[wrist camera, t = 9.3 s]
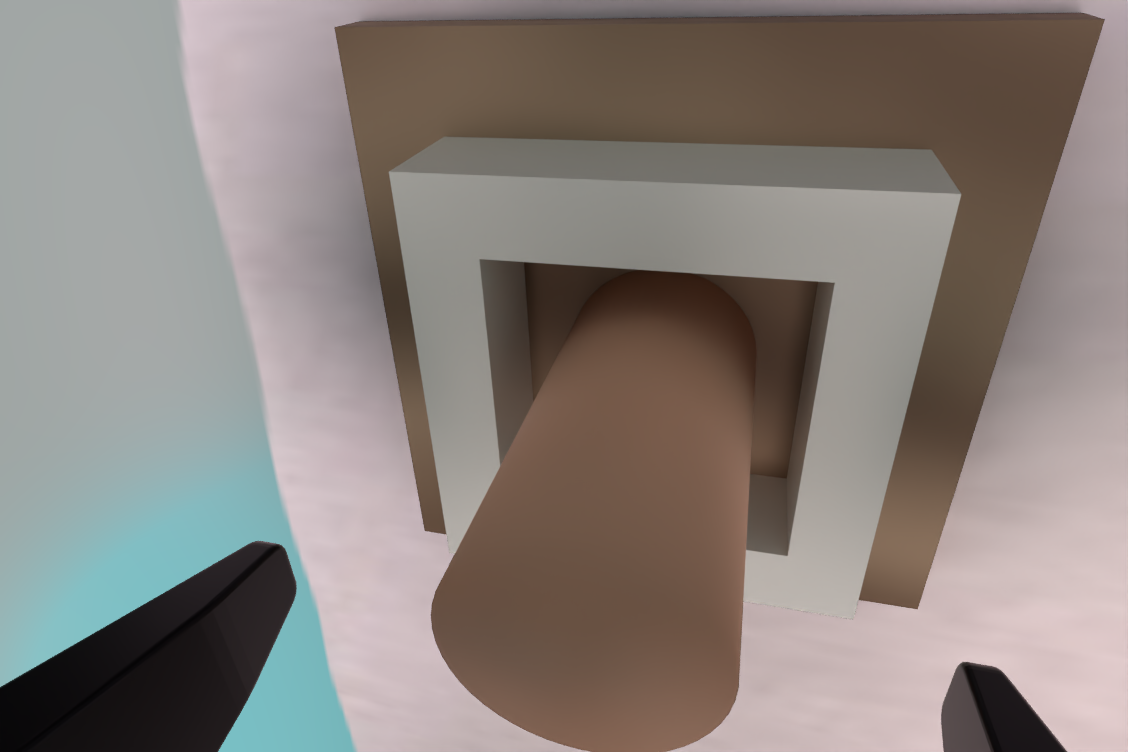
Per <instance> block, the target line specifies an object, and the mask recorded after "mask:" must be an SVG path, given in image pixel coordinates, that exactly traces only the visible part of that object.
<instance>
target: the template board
mask: <svg viewBox="0 0 1128 752" xmlns="http://www.w3.org/2000/svg"><path fill="white" fill-rule="evenodd" d="M1104 20H1105V19H1101V18H1098V17H1095V16H1091V15H1088V14H1084V13H1029V14H946V15H863V16H780V17H696V18H613V19H530V20H446V21H363V22H355V23H351V24H347V25H342V26H338V27H335V32H336V38H337V44H338V49H339V55H340V60H341V66H342V71H343V77H344V83H345V88H346V94H347V99H348V105H349V111H350V116H351V122H352V127H353V133H354V138H355V144H356V150H357V155H358V161H359V166H360V172H361V177H362V183H363V189H364V194H365V200H366V205H367V211H368V217H369V222H370V228H371V233H372V239H373V244H374V250H375V256H376V261H377V267H378V272H379V278H380V284H381V289H382V295H383V300H384V306H385V311H386V317H387V323H388V328H389V334H390V339H391V345H392V350H393V356H394V362H395V367H396V373H397V378H398V384H399V390H400V395H401V401H402V406H403V412H404V417H405V423H406V429H407V434H408V440H409V445H410V451H411V457H412V462H413V468H414V473H415V479H416V484H417V490H418V496H419V501H420V507H421V512H422V518H423V524H424V529H425V531H429V532H435V533H442V534H446V535H447V541H448V547H449V553H452V554H455V553H456V551H457V549H458V547H459V545H460V543H461V541H462V539H463V537H464V535H465V533H466V532H467V530H468V528H469V526H470V524H471V522H472V520H473V518H474V516H475V514H476V512H477V510H478V508H479V506H480V504H481V503H482V501H483V499H484V497H485V495H486V493H487V491H488V489H489V487H490V485H491V483H492V481H493V479H494V477H495V475H496V473H497V472H498V470H499V468H500V466H501V464H502V462H503V460H504V458H505V456H506V454H507V452H508V450H509V448H510V446H511V444H512V443H513V441H514V439H515V437H516V435H517V433H518V431H519V429H520V427H521V425H522V423H523V421H524V419H525V417H526V415H527V414H528V412H529V410H530V408H531V406H532V404H533V402H534V400H535V398H536V396H537V394H538V392H539V390H540V388H541V386H542V385H543V383H544V381H545V379H546V377H547V375H548V373H549V371H550V369H551V367H552V365H553V363H554V361H555V359H556V357H557V356H558V354H559V352H560V350H561V348H562V346H563V344H564V342H565V340H566V338H567V336H568V334H569V332H570V330H571V328H572V327H573V325H574V323H575V321H576V319H577V317H578V315H579V313H580V311H581V309H582V307H583V306H584V304H585V303H586V302H587V300H588V299H589V297H590V296H591V295H592V294H593V293H594V292H595V291H596V290H597V289H599V288H600V287H601V286H603V285H604V284H605V283H607V282H608V281H610V280H612V279H614V278H616V277H618V276H620V275H623V274H625V273H628V272H632V271H636V270H651V271H666V272H681V273H693V274H695V275H698V276H700V277H703V278H705V279H707V280H708V281H710V282H712V283H714V284H716V285H717V286H718V287H720V288H721V289H723V290H724V291H725V292H726V293H727V294H728V295H730V296H731V297H732V298H733V299H734V300H735V302H736V303H737V304H738V305H739V306H740V308H741V309H742V310H743V312H744V314H745V315H746V317H747V318H748V321H749V323H750V325H751V327H752V330H753V334H754V337H755V342H756V351H757V352H756V373H755V392H754V410H753V429H752V447H751V466H750V484H749V503H748V521H747V540H746V559H745V577H744V596H743V602H749V603H755V604H761V605H767V606H773V607H779V608H786V609H792V610H798V611H804V612H810V613H816V614H822V615H828V616H834V617H840V618H846V619H852V620H853V619H854V615H855V612H856V608H857V604H858V600H863V601H869V602H876V603H882V604H888V605H894V606H901V607H907V608H913V609H918V606H919V603H920V600H921V597H922V594H923V590H924V587H925V584H926V581H927V578H928V575H929V572H930V568H931V565H932V562H933V559H934V556H935V553H936V549H937V546H938V543H939V540H940V537H941V534H942V531H943V527H944V524H945V521H946V518H947V515H948V512H949V508H950V505H951V502H952V499H953V496H954V493H955V490H956V486H957V483H958V480H959V477H960V474H961V471H962V468H963V464H964V461H965V458H966V455H967V452H968V449H969V445H970V442H971V439H972V436H973V433H974V430H975V427H976V423H977V420H978V417H979V414H980V411H981V408H982V405H983V401H984V398H985V395H986V392H987V389H988V386H989V382H990V379H991V376H992V373H993V370H994V367H995V364H996V360H997V357H998V354H999V351H1000V348H1001V345H1002V342H1003V338H1004V335H1005V332H1006V329H1007V326H1008V323H1009V319H1010V316H1011V313H1012V310H1013V307H1014V304H1015V301H1016V297H1017V294H1018V291H1019V288H1020V285H1021V282H1022V278H1023V275H1024V272H1025V269H1026V266H1027V263H1028V260H1029V256H1030V253H1031V250H1032V247H1033V244H1034V241H1035V238H1036V234H1037V231H1038V228H1039V225H1040V222H1041V219H1042V215H1043V212H1044V209H1045V206H1046V203H1047V200H1048V197H1049V193H1050V190H1051V187H1052V184H1053V181H1054V178H1055V175H1056V171H1057V168H1058V165H1059V162H1060V159H1061V156H1062V152H1063V149H1064V146H1065V143H1066V140H1067V137H1068V134H1069V130H1070V127H1071V124H1072V121H1073V118H1074V115H1075V112H1076V108H1077V105H1078V102H1079V99H1080V96H1081V93H1082V89H1083V86H1084V83H1085V80H1086V77H1087V74H1088V71H1089V67H1090V64H1091V61H1092V58H1093V55H1094V52H1095V48H1096V45H1097V42H1098V39H1099V36H1100V33H1101V30H1102V26H1103V23H1104Z"/></svg>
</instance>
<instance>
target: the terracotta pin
mask: <svg viewBox="0 0 1128 752" xmlns="http://www.w3.org/2000/svg"><path fill="white" fill-rule="evenodd" d="M756 352H757V351H756V342H755V337H754V334H753V330H752V327H751V325H750V323H749V321H748V318H747V317H746V315H745V314H744V312H743V310H742V309H741V308H740V306H739V305H738V304H737V303H736V302H735V300H734V299H733V298H732V297H731V296H730V295H728V294H727V293H726V292H725V291H724V290H723V289H721V288H720V287H718V286H717V285H716V284H714V283H712V282H710V281H708V280H707V279H705V278H703V277H700V276H698V275H695V274H693V273H681V272H666V271H651V270H636V271H632V272H628V273H625V274H623V275H620V276H618V277H616V278H614V279H612V280H610V281H608V282H607V283H605V284H604V285H603V286H601V287H600V288H599V289H597V290H596V291H595V292H594V293H593V294H592V295H591V296H590V297H589V299H588V300H587V302H586V303H585V304H584V306H583V307H582V309H581V311H580V313H579V315H578V317H577V319H576V321H575V323H574V325H573V327H572V328H571V330H570V332H569V334H568V336H567V338H566V340H565V342H564V344H563V346H562V348H561V350H560V352H559V354H558V356H557V357H556V359H555V361H554V363H553V365H552V367H551V369H550V371H549V373H548V375H547V377H546V379H545V381H544V383H543V385H542V386H541V388H540V390H539V392H538V394H537V396H536V398H535V400H534V402H533V404H532V406H531V408H530V410H529V412H528V414H527V415H526V417H525V419H524V421H523V423H522V425H521V427H520V429H519V431H518V433H517V435H516V437H515V439H514V441H513V443H512V444H511V446H510V448H509V450H508V452H507V454H506V456H505V458H504V460H503V462H502V464H501V466H500V468H499V470H498V472H497V473H496V475H495V477H494V479H493V481H492V483H491V485H490V487H489V489H488V491H487V493H486V495H485V497H484V499H483V501H482V503H481V504H480V506H479V508H478V510H477V512H476V514H475V516H474V518H473V520H472V522H471V524H470V526H469V528H468V530H467V532H466V533H465V535H464V537H463V539H462V541H461V543H460V545H459V547H458V549H457V551H456V553H455V555H454V557H453V559H452V561H451V562H450V564H449V566H448V568H447V570H446V572H445V574H444V576H443V578H442V580H441V582H440V584H439V586H438V588H437V590H436V592H435V595H434V599H433V602H432V610H431V621H432V630H433V634H434V637H435V641H436V644H437V646H438V648H439V651H440V653H441V655H442V657H443V659H444V660H445V662H446V664H447V665H448V667H449V668H450V670H451V671H452V672H453V674H454V675H455V676H456V678H457V679H458V680H459V681H460V682H461V683H462V684H463V685H464V687H465V688H466V689H467V690H468V691H469V692H470V693H471V694H472V695H474V696H475V697H476V698H477V699H478V700H479V701H481V702H482V703H483V704H484V705H486V706H487V707H488V708H490V709H491V710H492V711H494V712H495V713H497V714H498V715H500V716H501V717H503V718H504V719H506V720H508V721H509V722H511V723H513V724H515V725H517V726H518V727H520V728H522V729H524V730H526V731H528V732H530V733H533V734H535V735H538V736H540V737H542V738H545V739H547V740H550V741H553V742H556V743H559V744H562V745H566V746H569V747H573V748H577V749H581V750H586V751H592V752H665V751H670V750H673V749H677V748H680V747H684V746H686V745H688V744H691V743H693V742H695V741H698V740H699V739H701V738H703V737H704V736H706V735H707V734H709V733H711V732H712V731H713V730H714V729H715V728H716V727H717V726H719V725H720V724H721V723H722V721H723V720H724V719H725V718H726V716H727V715H728V714H729V712H730V710H731V708H732V706H733V704H734V702H735V700H736V696H737V692H738V688H739V670H740V651H741V633H742V614H743V596H744V577H745V559H746V540H747V521H748V503H749V484H750V466H751V447H752V429H753V410H754V392H755V373H756Z"/></svg>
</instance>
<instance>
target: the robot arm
mask: <svg viewBox="0 0 1128 752" xmlns="http://www.w3.org/2000/svg"><path fill="white" fill-rule="evenodd" d="M295 595H296V580H295V577H294V574H293V571H292V568H291V565H290V562H289V559H288V555H287V552H286V550H285V548H284V547H283V546H282V545H280V544H275V543H269V542H263V541H255V542H252V543H250V544H248V545H246V546H245V547H243V548H241V549H239V550H238V551H236V552H234V553H232V554H231V555H229V556H227V557H225V558H224V559H222V560H220V561H218V562H217V563H215V564H213V565H212V566H210V567H208V568H206V569H205V570H203V571H201V572H199V573H198V574H196V575H194V576H192V577H191V578H189V579H187V580H186V581H184V582H182V583H180V584H179V585H177V586H175V587H174V588H172V589H170V590H169V591H166V592H165V593H163V594H161V595H160V596H158V597H156V598H154V599H153V600H151V601H149V602H147V603H146V604H144V605H142V606H140V607H139V608H137V609H135V610H133V611H132V612H130V613H128V614H126V615H125V616H123V617H121V618H120V619H118V620H116V621H114V622H113V623H111V624H109V625H107V626H106V627H104V628H103V629H101V630H99V631H97V632H95V633H94V634H92V635H90V636H88V637H87V638H85V639H83V640H81V641H80V642H78V643H76V644H74V645H73V646H71V647H69V648H68V649H66V650H64V651H62V652H61V653H59V654H57V655H55V656H54V657H52V658H50V659H48V660H47V661H45V662H43V663H42V664H40V665H38V666H36V667H34V668H33V669H31V670H29V671H28V672H26V673H24V674H22V675H21V676H19V677H17V678H15V679H14V680H12V681H10V682H8V683H7V684H5V685H3V686H1V687H0V752H218V751H219V749H220V747H221V745H222V744H223V742H224V740H225V739H226V737H227V735H228V733H229V732H230V730H231V728H232V727H233V725H234V723H235V721H236V720H237V718H238V716H239V715H240V713H241V711H242V709H243V707H244V705H245V703H246V702H247V700H248V698H249V696H250V694H251V692H252V690H253V688H254V686H255V684H256V682H257V680H258V678H259V676H260V673H261V671H262V669H263V667H264V665H265V663H266V661H267V658H268V656H269V654H270V652H271V650H272V647H273V645H274V643H275V641H276V639H277V636H278V634H279V632H280V630H281V628H282V625H283V623H284V621H285V619H286V617H287V615H288V613H289V610H290V608H291V606H292V604H293V601H294V598H295ZM941 725H942V737H943V748H944V752H1067V751H1066V750H1065V748H1064V747H1063V746H1062V745H1061V743H1060V742H1059V741H1058V740H1057V738H1056V737H1055V736H1054V735H1053V733H1052V732H1051V731H1050V730H1049V728H1048V727H1047V726H1046V725H1045V723H1044V722H1043V721H1042V720H1041V718H1040V717H1039V716H1038V715H1037V714H1036V712H1035V711H1034V710H1033V709H1032V707H1031V706H1030V705H1029V704H1028V702H1027V701H1026V700H1025V699H1024V697H1023V696H1022V695H1021V694H1020V692H1019V691H1018V690H1017V689H1016V687H1015V686H1014V685H1013V684H1012V682H1011V681H1010V680H1009V679H1008V677H1007V676H1006V675H1005V674H1004V673H1003V672H1002V671H1001V670H999V669H998V668H996V667H992V666H987V665H981V664H975V663H970V662H962V663H960V664H959V665H958V667H957V668H956V671H955V673H954V676H953V678H952V681H951V684H950V686H949V689H948V692H947V694H946V697H945V699H944V702H943V706H942V714H941Z"/></svg>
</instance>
